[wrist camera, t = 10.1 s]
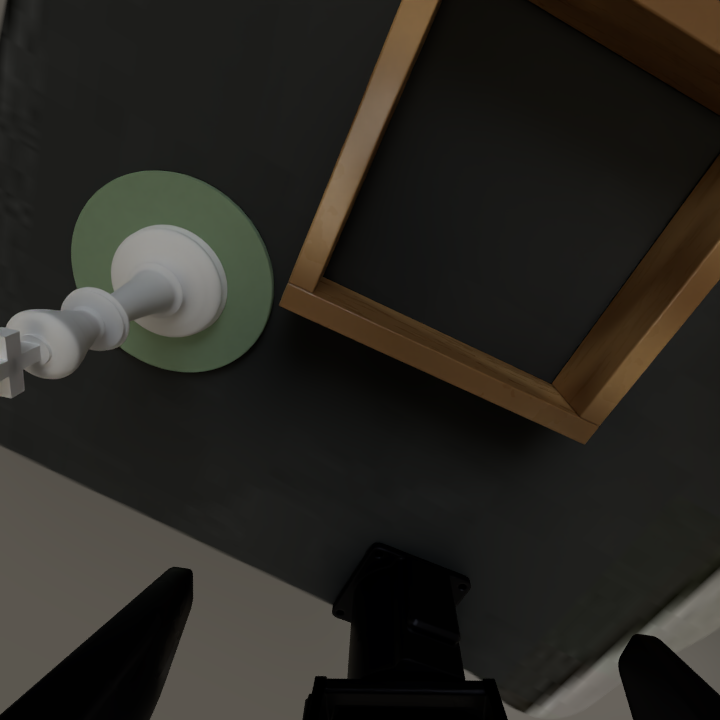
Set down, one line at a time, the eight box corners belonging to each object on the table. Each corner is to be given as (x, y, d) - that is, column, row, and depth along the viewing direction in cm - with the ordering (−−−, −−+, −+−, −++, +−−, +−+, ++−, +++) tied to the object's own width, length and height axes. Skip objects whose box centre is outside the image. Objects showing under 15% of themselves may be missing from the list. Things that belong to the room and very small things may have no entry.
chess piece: (233, 240, 18) (82, 301, 9) (221, 344, 20) (86, 484, 11) (118, 211, 18) (-161, 244, 9) (117, 320, 20) (-113, 442, 11)
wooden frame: (556, 407, 21) (584, 445, 18) (294, 286, 19) (278, 305, 16) (779, 112, 16) (870, 96, 13) (449, -92, 14) (467, -164, 11)
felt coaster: (237, 396, 22) (235, 400, 21) (61, 322, 20) (55, 325, 20) (304, 229, 18) (302, 230, 18) (97, 130, 17) (91, 129, 17)
